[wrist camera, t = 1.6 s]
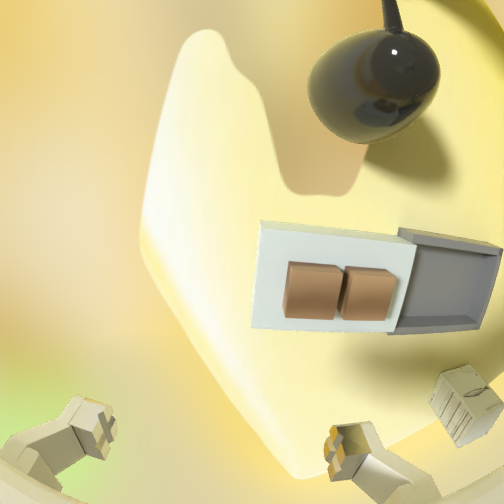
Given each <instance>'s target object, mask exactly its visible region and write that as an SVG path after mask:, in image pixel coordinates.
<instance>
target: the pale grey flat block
mask: <svg viewBox="0 0 504 504" xmlns="http://www.w3.org/2000/svg"><path fill="white" fill-rule="evenodd" d="M416 247H417V245H415V244H413V243H411V242H409V241H407V240H405V239H403V238H401V237H399V236H396V235H388V234H381V233H373V232H365V231H357V230H348V229H340V228H331V227H323V226H313V225H304V224H295V223H285V222H275V221H264V220H260V223H259V233H258V243H257V253H256V263H255V273H254V282H253V292H252V302H251V328H257V329H272V330H289V331H313V332H394V330H395V327H396V324H397V321H398V317H399V314H400V311H401V307H402V304H403V300H404V297H405V293H406V290H407V286H408V282H409V278H410V274H411V270H412V266H413V261H414V257H415V252H416ZM288 261H296V262H307V263H319V264H331V265H336V266H337V267H338V268H339V270H340V271H341V272H342V273H343V274H344V269H345V266H355V267H368V268H380V269H386V270H388V271H389V272H390V273H391V274H393V275H394V276H395V277H397V278H396V282H395V286H394V290H393V294H392V298H391V301H390V305H389V309H388V312H387V316H386V319H385V321H349V320H343V319H342V317H341V316H340V314H339V312H338V311H337V309H336V310H335V315H334V319H333V320H318V319H296V318H285V315H284V311H283V307H282V304H283V297H284V290H285V283H286V276H287V269H288ZM342 279H343V278H342ZM341 284H342V283H341ZM340 289H341V287H340ZM339 294H340V292H339ZM338 298H339V297H338ZM337 303H338V302H337ZM336 307H337V306H336Z"/></svg>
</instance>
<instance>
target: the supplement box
mask: <svg viewBox="0 0 504 504" xmlns="http://www.w3.org/2000/svg"><path fill="white" fill-rule="evenodd" d="M429 403H430V405H431V407H432V408H433V410H434V411H435V413H436V415H437V416H438V418H439V419H440V421H441V423H442V424H443V426H444V427H445V429H446V430H447V432H448V434H449V435H450V437H451V439H452V440H453V442H454V444H455V446H456V447H457V448H459V447H462V446H464V445H466V444H468V443H470V442H472V441H474V440H476V439H478V438H480V437H482V436H484V435H486V434H487V433H488V432H489V430H490V429H491V428H492V426H493V425H494V423H495V421H496V420H497V418H498V417H499V415H500V413H501V412H502V410H503V409H504V402H503V401H502V400H501V399H500V398H499V397H498V395H497V394H496V393H495V392H494V391H493V390H492V389H491V387H489V385H488V384H487V383H486V382H485V381H484V379H483V378H482V377H481V376H480V375H479V374H478V373H477V372H476V371H475V370H474V369H473V367H472V366H471V365H470V364H468V365H465V366H462V367H459V368H456V369H452V370H449V371H444V372H441V374H440V376H439V378H438V381H437V383H436V385H435V388H434V390H433V392H432V394H431V397H430V399H429Z"/></svg>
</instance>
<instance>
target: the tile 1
mask: <svg viewBox="0 0 504 504" xmlns="http://www.w3.org/2000/svg"><path fill="white" fill-rule="evenodd" d="M342 278H343V273H342V272H341V271H340V270H339V268H338V267H337V266H336V265H331V264H319V263H307V262H296V261H288V269H287V276H286V283H285V290H284V297H283V304H282V307H283V311H284V315H285V318H296V319H318V320H333V319H334V315H335V310H336V306H337V302H338V297H339V292H340V287H341V283H342Z"/></svg>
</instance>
